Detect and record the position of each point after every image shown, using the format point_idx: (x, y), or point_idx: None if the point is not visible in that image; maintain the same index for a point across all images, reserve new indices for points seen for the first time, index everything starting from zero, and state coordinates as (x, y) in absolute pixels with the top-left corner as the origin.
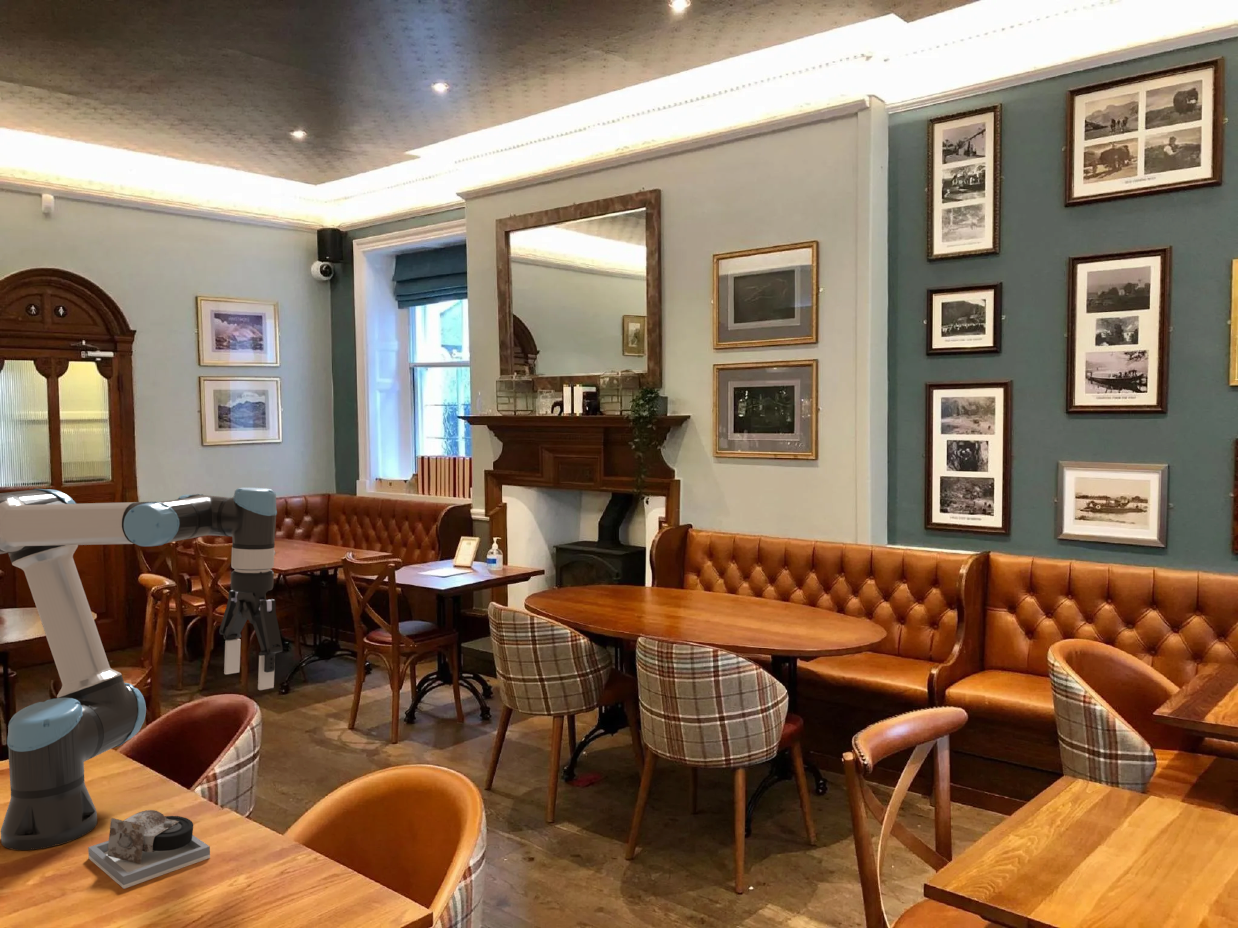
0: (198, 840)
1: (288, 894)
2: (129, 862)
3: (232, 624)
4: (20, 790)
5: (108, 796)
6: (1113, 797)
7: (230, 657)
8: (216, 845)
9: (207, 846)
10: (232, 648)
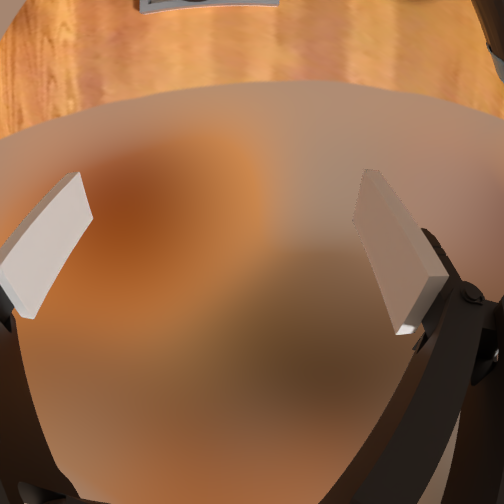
0: (171, 5)
1: (14, 72)
2: None
3: (414, 412)
4: None
5: (457, 39)
6: None
7: (384, 226)
8: (174, 29)
9: (141, 10)
10: (398, 266)
